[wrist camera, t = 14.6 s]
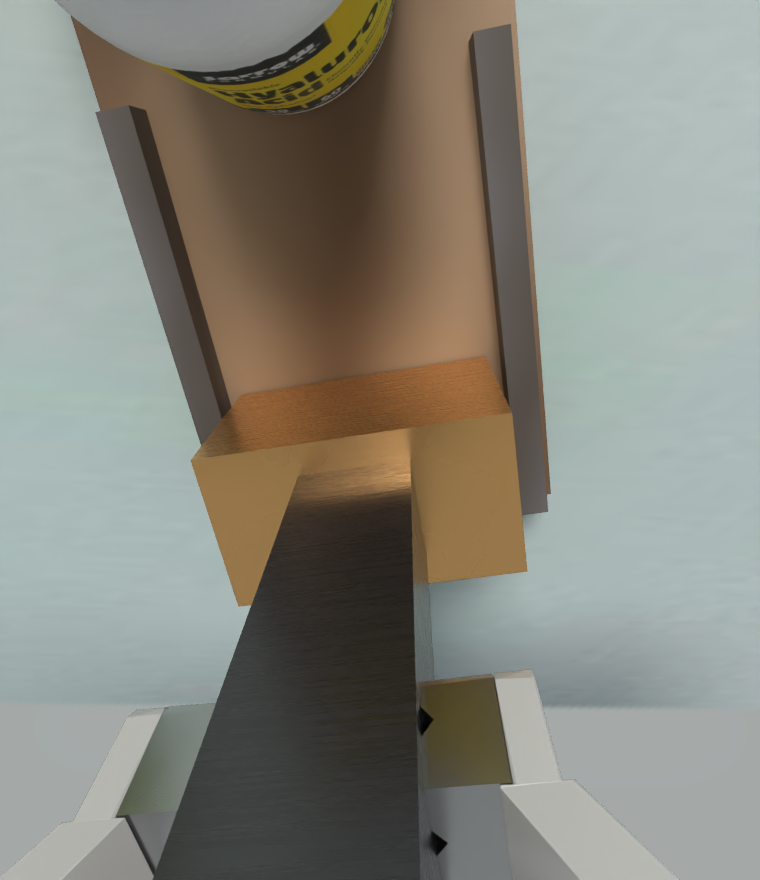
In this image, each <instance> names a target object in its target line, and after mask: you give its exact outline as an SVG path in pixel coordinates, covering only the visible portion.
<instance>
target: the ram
mask: <svg viewBox="0 0 760 880" xmlns="http://www.w3.org/2000/svg"><path fill="white" fill-rule="evenodd" d="M191 463H192V466H193V469H194V472H195V475H196V478H197V481H198V484H199V487H200V490H201V493H202V496H203V499H204V502H205V505H206V508H207V512H208V515H209V518H210V521H211V524H212V527H213V530H214V533H215V536H216V539H217V542H218V545H219V548H220V551H221V554H222V557H223V560H224V563H225V566H226V569H227V572H228V575H229V579H230V582H231V585H232V588H233V591H234V594H235V597H236V600H237V603H238V606H247V605H251V608H250V611H249V614H248V616H247V619H246V622H245V625H244V627H243V630H242V633H241V636H240V638H239V641H238V644H237V647H236V650H235V652H234V655H233V658H232V661H231V663H230V666H229V669H228V672H227V675H226V677H225V680H224V683H223V686H222V688H221V691H220V694H219V697H218V699H217V702H216V705H215V708H214V711H213V713H212V716H211V719H210V722H209V724H208V727H207V730H206V733H205V736H204V738H203V741H202V744H201V747H200V749H199V752H198V755H197V758H196V760H195V763H194V766H193V769H192V772H191V774H190V777H189V780H188V783H187V785H186V788H185V791H184V794H183V797H182V799H181V802H180V805H179V808H178V810H177V813H176V816H175V819H174V821H173V824H172V827H171V830H170V833H169V835H168V838H167V841H166V844H165V846H164V849H163V852H162V855H161V858H160V860H159V863H158V866H157V869H156V871H155V874H154V877H153V880H442V877H441V873H440V868H439V863H438V859H437V846H436V834H435V833H434V832H433V831H432V830H431V826H430V821H429V816H428V811H427V807H426V802H425V797H424V792H423V777H422V746H421V737H422V735H423V734H424V732H425V728H424V723H423V718H422V713H421V707H420V684H421V682H423V681H432V680H434V664H433V648H432V632H431V615H430V599H429V583H436V582H444V581H453V580H461V579H469V578H477V577H485V576H494V575H502V574H510V573H518V572H527V563H526V552H525V542H524V532H523V521H522V511H521V500H520V490H519V479H518V469H517V458H516V448H515V437H514V427H513V416H512V411H511V409H510V407H509V405H508V403H507V401H506V398H505V396H504V394H503V392H502V390H501V388H500V386H499V384H498V382H497V379H496V377H495V375H494V373H493V371H492V369H491V367H490V365H489V362H488V360H487V358H486V356H484V357H477V358H471V359H465V360H458V361H452V362H446V363H439V364H433V365H427V366H421V367H414V368H408V369H402V370H395V371H389V372H383V373H376V374H370V375H364V376H357V377H351V378H345V379H339V380H332V381H326V382H320V383H313V384H307V385H301V386H294V387H288V388H282V389H275V390H269V391H263V392H257V393H250V394H244V395H240V397H239V398H238V399H237V401H236V402H235V403H234V405H233V406H232V407H231V408H230V410H229V411H228V412H227V414H226V415H225V416H224V418H223V419H222V420H221V421H220V423H219V424H218V425H217V427H216V428H215V429H214V431H213V432H212V433H211V434H210V436H209V437H208V438H207V440H206V441H205V442H204V444H203V445H202V446H201V447H200V449H199V450H198V451H197V453H196V454H195V455H194V457H193V458H192V459H191Z"/></svg>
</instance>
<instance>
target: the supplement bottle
mask: <svg viewBox="0 0 760 880" xmlns="http://www.w3.org/2000/svg"><path fill="white" fill-rule="evenodd" d="M55 1H56V2H57V3H58V4H59V5H60V6H61V7H62V8H63V9H64V10H65V11H67V12H68V13H69V14H70V15H71V16H72V17H74V18H75V19H76V20H77V21H79V22H80V23H81V24H83V25H84V26H85V27H87V28H88V29H89V30H91V31H92V32H93V33H95V34H96V35H98V36H100V37H101V38H103V39H104V40H106V41H107V42H109V43H111V44H112V45H114V46H115V47H117V48H119V49H121V50H123V51H125V52H127V53H128V54H130V55H132V56H134V57H136V58H138V59H140V60H142V61H144V62H146V63H148V64H150V65H152V66H154V67H157V68H159V69H161V70H163V71H165V72H167V73H169V74H171V75H173V76H175V77H177V78H179V79H181V80H183V81H185V82H187V83H189V84H191V85H194V86H196V87H198V88H200V89H202V90H205V91H206V92H209V93H211V94H213V95H215V96H217V97H219V98H221V99H223V100H225V101H227V102H229V103H231V104H234V105H236V106H239V107H241V108H244V109H248V110H252V111H256V112H261V113H268V114H296V113H301V112H305V111H309V110H312V109H315V108H318V107H320V106H323V105H325V104H327V103H329V102H331V101H332V100H334V99H335V98H337V97H339V96H340V95H341V94H343V93H344V92H346V91H347V90H348V89H349V88H350V87H351V86H352V85H353V84H354V83H356V82H357V80H358V79H359V78H360V77H361V76H362V75H363V74H364V72H365V71H366V70H367V68H368V67H369V66H370V65H371V63H372V61H373V60H374V58H375V56H376V54H377V53H378V51H379V49H380V47H381V45H382V43H383V40H384V38H385V36H386V33H387V31H388V28H389V24H390V21H391V17H392V13H393V9H394V4H395V0H55Z"/></svg>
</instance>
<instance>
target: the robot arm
mask: <svg viewBox="0 0 760 880" xmlns="http://www.w3.org/2000/svg"><path fill="white" fill-rule="evenodd" d="M215 705H216V703H208V704H195V705H181V706H170V707H165V708H151V709H138V710H136V711H134V712H133V713H132V714H131V715H130V716H129V717H128V718H127V719H126V720H125V722H124V724H123V726H122V728H121V730H120V732H119V734H118V736H117V738H116V740H115V742H114V743H113V745H112V747H111V749H110V751H109V753H108V755H107V757H106V759H105V761H104V763H103V765H102V766H101V768H100V770H99V772H98V774H97V776H96V778H95V780H94V782H93V784H92V786H91V787H90V789H89V791H88V793H87V795H86V797H85V799H84V801H83V803H82V805H81V807H80V809H79V810H78V812H77V814H76V816H75V818H74V820H73V822H65V823H61V824H60V825H59V826H58V827H56V828H55V829H54V830H53V831H52V832H51V833H50V834H48V835H47V836H46V837H45V838H44V839H43V840H42V841H41V842H39V843H38V844H37V845H36V846H35V847H34V848H33V849H31V850H30V851H29V852H28V853H27V854H26V855H25V856H24V857H22V858H21V859H20V860H19V861H18V862H17V863H16V864H14V865H13V866H12V867H11V868H10V869H9V870H8V871H7V872H5V873H4V874H3V875H2V876H1V877H0V880H153V877H154V874H155V871H156V869H157V866H158V863H159V860H160V858H161V855H162V852H163V849H164V846H165V844H166V841H167V838H168V835H169V833H170V830H171V827H172V824H173V821H174V819H175V816H176V813H177V810H178V808H179V805H180V802H181V799H182V797H183V794H184V791H185V788H186V785H187V783H188V780H189V777H190V774H191V772H192V769H193V766H194V763H195V760H196V758H197V755H198V752H199V749H200V747H201V744H202V741H203V738H204V736H205V733H206V730H207V727H208V724H209V722H210V719H211V716H212V713H213V711H214V708H215ZM420 707H421V713H422V718H423V723H424V728H425V732H424V734H423V735H422V737H421V746H422V777H423V792H424V797H425V802H426V807H427V811H428V816H429V821H430V826H431V830H432V831H433V832H434V833H435V834H436V846H437V859H438V863H439V868H440V873H441V877H442V880H680V879H678V878H677V877H676V876H675V875H674V874H673V873H672V872H671V871H670V870H669V869H668V868H667V867H666V866H665V865H664V864H663V863H662V862H661V861H659V859H658V858H657V857H655V856H654V855H653V854H652V853H651V852H650V851H649V850H648V849H647V848H646V847H645V846H644V845H643V844H642V843H641V842H640V841H639V840H637V838H635V836H633V835H632V834H631V833H630V832H629V831H628V830H627V829H626V828H625V827H624V826H623V825H622V824H621V823H620V822H619V821H618V820H617V819H616V818H615V817H614V816H613V815H611V813H609V812H608V811H607V810H606V809H605V808H604V807H603V806H602V805H601V804H600V803H599V802H598V801H597V800H596V799H595V798H594V797H593V796H592V795H591V794H590V793H588V792H587V791H586V790H585V789H584V788H583V787H582V786H581V785H580V784H579V783H578V782H577V781H576V780H562V777H561V773H560V769H559V766H558V762H557V758H556V755H555V751H554V747H553V743H552V739H551V736H550V732H549V728H548V725H547V721H546V717H545V713H544V710H543V706H542V702H541V698H540V695H539V691H538V687H537V684H536V680H535V676H534V674H533V673H532V671H531V670H530V669H528V670H519V671H511V672H502V673H494V675H492V674H485V675H476V676H467V677H458V678H450V679H441V680H432V681H423V682H421V684H420Z"/></svg>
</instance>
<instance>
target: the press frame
mask: <svg viewBox="0 0 760 880" xmlns="http://www.w3.org/2000/svg"><path fill="white" fill-rule="evenodd" d="M71 18H72V21H73V24H74V27H75V31H76V34H77V37H78V40H79V43H80V46H81V50H82V53H83V56H84V59H85V62H86V66H87V69H88V72H89V75H90V78H91V81H92V85H93V88H94V91H95V94H96V97H97V101H98V104H99V107H100V110H101V111H99V112H96V115H97V119H98V122H99V125H100V128H101V131H102V134H103V138H104V141H105V144H106V147H107V150H108V153H109V156H110V160H111V163H112V166H113V169H114V172H115V175H116V178H117V182H118V185H119V188H120V191H121V194H122V197H123V201H124V204H125V207H126V210H127V213H128V216H129V219H130V223H131V226H132V229H133V232H134V235H135V238H136V242H137V245H138V248H139V251H140V254H141V257H142V260H143V264H144V267H145V270H146V273H147V276H148V279H149V282H150V286H151V289H152V292H153V295H154V298H155V301H156V305H157V308H158V311H159V314H160V317H161V320H162V323H163V327H164V330H165V333H166V336H167V339H168V342H169V345H170V349H171V352H172V355H173V358H174V361H175V364H176V368H177V371H178V374H179V377H180V380H181V383H182V386H183V390H184V393H185V396H186V399H187V402H188V405H189V408H190V412H191V415H192V418H193V421H194V424H195V427H196V431H197V434H198V437H199V440H200V443H201V446H202V445H203V444H204V442H205V441H206V440H207V438H208V437H209V436H210V434H211V433H212V432H213V431H214V429H215V428H216V427H217V425H218V424H219V423H220V421H221V420H222V419H223V418H224V416H225V415H226V414H227V412H228V411H229V410H230V408H231V407H232V406H233V405H234V403H235V402H236V401H237V399H238V398H239V397H240V395H244V394H250V393H257V392H263V391H269V390H275V389H282V388H288V387H294V386H301V385H307V384H313V383H320V382H326V381H332V380H339V379H345V378H351V377H357V376H364V375H370V374H376V373H383V372H389V371H395V370H402V369H408V368H414V367H421V366H427V365H433V364H439V363H446V362H452V361H458V360H465V359H471V358H477V357H484V356H486V358H487V360H488V362H489V365H490V367H491V369H492V371H493V373H494V375H495V377H496V379H497V382H498V384H499V386H500V388H501V390H502V392H503V394H504V396H505V398H506V401H507V403H508V405H509V407H510V409H511V411H512V416H513V427H514V437H515V448H516V458H517V469H518V479H519V490H520V500H521V511H522V515H527V514H534V513H542V512H548V505H547V494H551V491H550V477H549V464H548V450H547V436H546V423H545V409H544V395H543V381H542V368H541V354H540V340H539V327H538V313H537V299H536V285H535V272H534V258H533V244H532V231H531V217H530V203H529V189H528V176H527V162H526V148H525V135H524V121H523V107H522V93H521V80H520V66H519V52H518V39H517V25H516V11H515V0H395V4H394V9H393V13H392V17H391V21H390V24H389V28H388V31H387V33H386V36H385V38H384V40H383V43H382V45H381V47H380V49H379V51H378V53H377V54H376V56H375V58H374V60H373V61H372V63H371V65H370V66H369V67H368V68H367V70H366V71H365V72H364V74H363V75H362V76H361V77H360V78H359V79H358V80H357V82H356V83H354V84H353V85H352V86H351V87H350V88H349V89H348V90H347V91H346V92H344V93H343V94H341V95H340V96H339V97H337V98H335V99H334V100H332V101H331V102H329V103H327V104H325V105H323V106H320V107H318V108H315V109H312V110H309V111H305V112H301V113H296V114H268V113H261V112H256V111H252V110H248V109H244V108H241V107H239V106H236V105H234V104H231V103H229V102H227V101H225V100H223V99H221V98H219V97H217V96H215V95H213V94H211V93H209V92H206V91H205V90H202V89H200V88H198V87H196V86H194V85H191V84H189V83H187V82H185V81H183V80H181V79H179V78H177V77H175V76H173V75H171V74H169V73H167V72H165V71H163V70H161V69H159V68H157V67H154V66H152V65H150V64H148V63H146V62H144V61H142V60H140V59H138V58H136V57H134V56H132V55H130V54H128V53H127V52H125V51H123V50H121V49H119V48H117V47H115V46H114V45H112V44H111V43H109V42H107V41H106V40H104V39H103V38H101V37H100V36H98V35H96V34H95V33H93V32H92V31H91V30H89V29H88V28H87V27H85V26H84V25H83V24H81V23H80V22H79V21H77V20H76V19H75V18H74V17H72V16H71Z"/></svg>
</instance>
